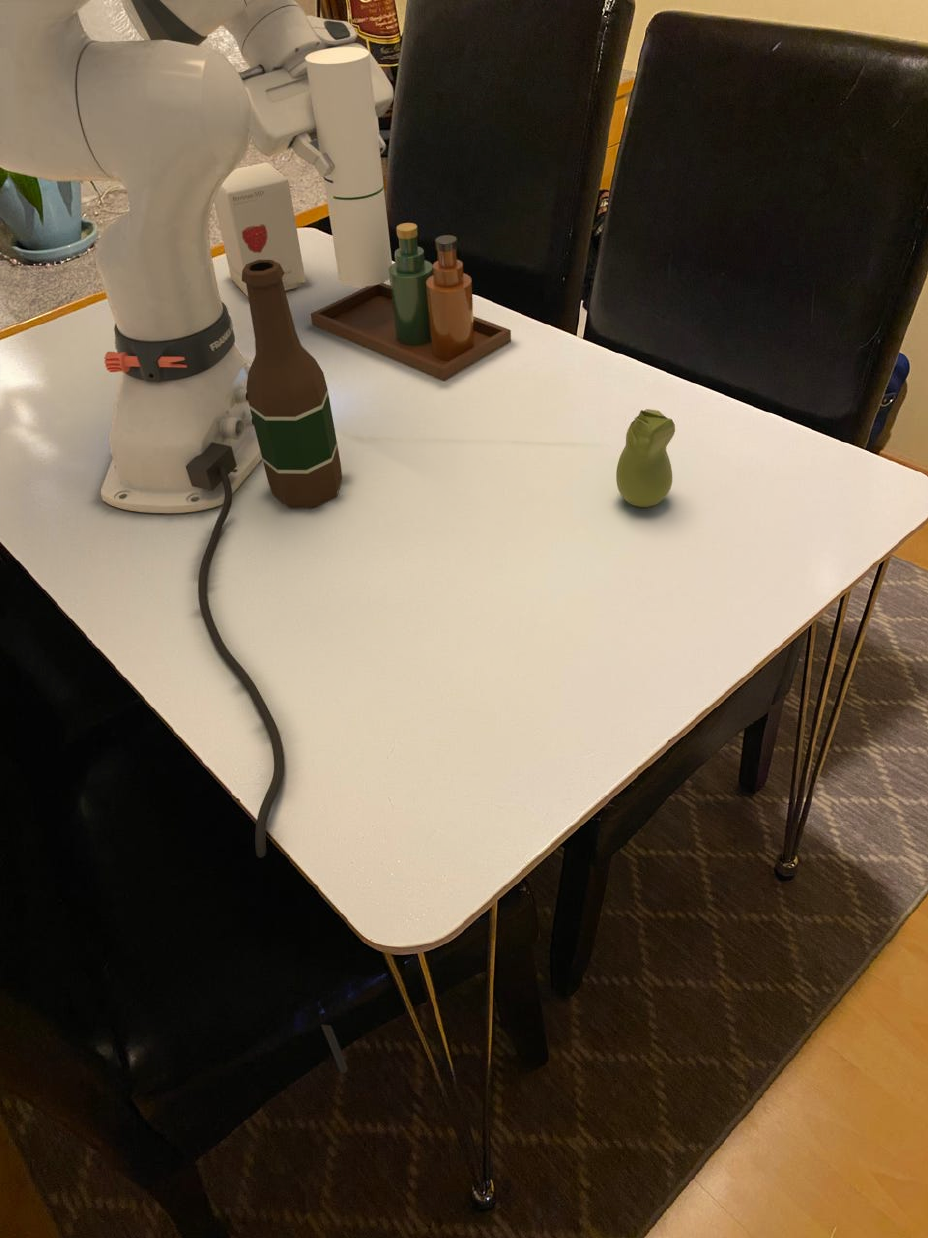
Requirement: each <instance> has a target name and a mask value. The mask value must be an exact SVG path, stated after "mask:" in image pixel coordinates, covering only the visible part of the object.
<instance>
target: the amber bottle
mask: <svg viewBox="0 0 928 1238" xmlns="http://www.w3.org/2000/svg"><path fill="white" fill-rule="evenodd" d="M457 248H458V239H457V237H456V236H455V235H449V234H446V235H445V234H443V235H440V236H438V237H436V238H435V249H436V250H437V252H436V253H437V261H434V262H433V264H432V266H433V276H431V277H429V278H428V279H427V281H426V288H427V300H428V312H429V324H430V336H431V348H432V354H433V355H434V356H435V357H436V358H438V359H441V360H447V361H451V360H453V359H454V358H456V357H458V356H460V355H461V354H463V353H465V352H466V351H468V350H470V349H472V348H473V347H475V341H474V320H473V316H474V301H473V281H472V277H471V276H470V275H468V274H467V273H464V262H463V261H462V260H459V259H458V257H457Z"/></svg>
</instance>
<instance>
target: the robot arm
mask: <svg viewBox="0 0 928 1238" xmlns="http://www.w3.org/2000/svg"><path fill="white" fill-rule="evenodd" d="M120 1H121V4H122V6H123V10H124V12H125V13H126V16H127V18H128V19H129V21H130V22H131V24H132V26H133V28H134V29H135V30H136V32H137V34H139V36H140V37H141V38H142V39H143V40H115V41H114V40H113V41H112V40H110V41H100V40H95V39H94V40H93V39H92V38H91V37H90V35H88V34H87V31H85V29H84V26H83V24H82V21H81V18H80V14H79V11H80V10H81V9H82V8H84V7H85V6H86V5H87V4H88V3H89V2H91V0H0V168H1V169H2V170H5V171H7V172H11V173H16V174H19V175H24V176H27V177H32V178H37V179H42V180H47V181H52V182H118V183H121V184H123V186H124V189H125V192H126V195H127V199H128V205H129V207H128V208H129V211H127V213H125V214H124V215H122V216H121V217H119V218H118V219H117V220H115V221H114V222H113V223H111V224H110V225H109V226H108V227H107V228H106V229H105V230H104V231H103V233H102V234H101V235H100V237H99V239H98V241H97V245H96V250H95V258H94V259H95V267H96V270H97V273H98V275H99V279H100V282H101V285H102V287H103V290H104V292H105V293H104V294H105V296H106V298H107V302H108V304H109V308H110V310H111V311H110V312H111V313H112V316H113V319H114V323H115V324H114V326H113V329H114V345H115V350H116V351H107V352H106V353H105V355H104V365H105V368H106V370H107V371H108V372H109V373H117V372H121V375H120V381H119V385H118V389H117V395H116V400H115V406H114V411H113V416H112V421H111V427H110V433H109V438H108V439H109V448H110V452H111V456H112V459H111V462H110V464H109V467H108V470H107V473H106V475H105V477H104V481H103V483H102V485H101V489H100V496H101V499H102V501H103V502H105V503H106V504H108V505H109V506H112V507H115V508H117V509H121V510H125V511H131V512H137V513H151V514H183V513H193V512H200V511H205V510H209V509H212V508H213V509H214V508H216V507H219V506H221V505H222V507H221V510H220V512H219V514H218V517H217V519H216V521H215V524H214V527H213V529H212V533H211V535H210V538H209V541H208V543H207V546H206V548H205V550H204V554H203V556H202V559H201V563H200V567H199V572H198V581H197V582H198V583H197V591H198V592H197V593H198V594H197V595H198V603H199V609H200V612H201V616H202V619H203V621H204V625H205V627H206V629H207V632H208V634H209V636H210V639H211V641H212V643H213V645H214V646H215V648H216V650H217V652H218V653H219V655H220V656H221V657H222V658H223V661H225V662H226V664H227V666H229V667H230V669H231V670H232V671H233V672H234V673H235V674H236V676H237V677H238V678H239V680H240V681H241V683H242V684H243V686H244V688H246V690H247V692H248V694H249V696H250V698H251V700H252V701H253V703H254V706H255V708H256V709H257V711H258V713H259V715H260V717H261V719H262V721H263V723H264V725H265V727H266V730H267V732H268V736H269V739H270V743H271V747H272V754H273V774H272V777H271V781H270V783H269V786H268V789H267V791H266V793H265V795H264V798H263V799H262V802H261V805H260V807H259V810H258V814H257V818H256V823H255V832H254V833H255V834H254V841H255V842H254V844H255V845H254V847H255V856H256V857H258V858H259V859H260V858H263V857H265V856H266V855H267V851H268V849H267V839H266V838H267V826H266V825H267V824H268V819H269V815H270V812H271V810H272V807H273V805H274V803H275V800H276V798H277V795H278V793H279V792H280V788H281V786H282V782H283V779H284V774H285V773H284V772H285V757H284V754H285V753H284V747H283V742H282V739H281V735H280V732H279V729H278V726H277V724H276V722H275V719H274V717H273V716H272V713H271V712H270V710H269V708H268V705H267V704H266V702H265V701H264V700H265V699H264V698H263V696H262V695H261V693H260V691H259V688H258V687H257V686H256V684H255V683H254V681H253V679H252V678H251V676H250V675H249V673H247V671H246V670H245V668H243V666H242V665H241V664H240V663H239V661H238V660H237V658H235V657H234V655H233V654H232V653H231V652H230V651H229V649H228V648H227V646H226V644H225V643H224V641H223V638H222V637H221V635H220V633H219V631H218V628H217V626H216V624H215V621H214V618H213V616H212V612H211V609H210V606H209V599H208V591H207V590H208V586H207V585H208V584H207V582H208V580H207V579H208V571H209V568H210V567H209V566H210V563H211V560H212V557H213V554H214V552H215V550H216V547H217V544H218V542H219V538H220V535H221V533H222V530H223V528H224V524H225V522H226V521H227V518H228V516H229V513H230V511H231V508H232V503H233V494H234V493H235V492H236V491H237V489H238V488H239V487H240V486H241V485H242V483H243V482H244V481H245V480H247V479H246V478H248V476H249V475H250V474H251V473H252V471H253V470H255V468H256V467H257V466H258V465H259V463H260V462H261V460H263V459H262V455H261V451H260V447H259V443H258V439H257V435H256V431H255V427H254V423H253V419H252V415H251V411H250V407H249V402H248V396H247V389H246V386H247V379H248V372H249V370H250V367H251V365H252V363H251V362H250V361H249V360H247V358H246V357H245V356H244V355H243V354H242V352H241V351H240V350H239V349H238V347H237V346H236V345H235V342H236V336H235V331H234V324H233V320H232V317H231V315H230V313H229V310H228V307H227V305H226V303H224V302H223V301H222V297H221V293H220V290H219V285H218V281H217V277H216V271H215V266H214V260H213V255H212V248H211V241H210V219H211V213H212V209H213V205H214V199H215V197H216V194H217V192H218V190H219V188H220V187H221V185H222V184H223V182H224V181H225V179H226V178H227V177H228V176H229V175H230V173H231V172H232V171H233V170H235V169H236V168H238V166H239V165H240V163H241V162H242V161H243V159H244V157H245V155H246V154H247V151H248V149H249V146H250V142H251V143H252V145H253V147H254V148H255V149H256V150H257V151H258V153H260V154H262V155H264V156H265V157H267V158H268V157H269V158H270V157H272V156H276V155H278V154H281V153H284V152H287V151H290V150H292V149H293V151H294V152H295V155H296V156H297V157H299V158H300V159H302V160H303V161H305V162H307V163H308V164H310V165H311V166H313V167H314V168H315V170H316V172H317V173H318V175H319V176H321V177H322V178H323V177H324V176H327V175H329V174H331V172H332V171H333V170H334V168H335V165H334V163H333V162H332V160H331V159H330V158H329V156H328V155H327V153H325V154H322V153H321V152H320V151H319V149H318V148H316V147H315V146H314V145H312V142H314V141H318V138H317V131H316V122H315V118H314V112H313V105H312V99H311V92H310V86H309V79H308V73H307V67H306V60H305V58H306V56H307V55H308V54H310V53H313V52H316V51H319V50H324V49H329V48H338V47H356V48H362V49H366V50H367V51H369V49H367V48H366V47H365V46H364V45H362V44H360V43H357V42H356V40H357V38H358V33H357V30H356V29H355V28H354V26H353V25H352V23H350V22H348V21H345V20H337V19H336V20H335V19H329V18H328V19H327V18H322V17H318V16H314V15H311V14H310V15H307V14H306V12H305V11H304V9H303V8H302V6H300V4H299V3H298V2H296V0H120ZM221 26H222V27H223V28H224V29H225V30H226V31H227V32H228V33H230V35H231V36H232V37H233V39H234V40H235V41H236V44H237V47H238V49H239V52H240V55H241V57H242V58H243V60H244V61H245V63H246V64H247V66H248V68H247V69H245V70H243V71H240V72H239V71H238V70H237V69H236V67H235V66H234V65H233V63H232V62H231V61H230V60H229V58H227V57H226V56H225V55H224V54H223V52H221V51H219V50H216V49H213V48H208V47H205V46H200V45H201V44H202V43H203V42H204V41H206V40H207V39H208V36H209V35H211V34H212V33H213V32H214V31H216V30H218V29H219V28H220V27H221ZM369 56H370V65H371V74H372V84H373V93H374V102H375V111H376V121H377V130H378V139H379V148H380V155H382V154H383V153H384V152H385V150H387V149H386V148H387V145H386V142H385V141H384V139H383V137H382V136H381V134H380V127H379V118H380V117H383V116H384V115H385V114H386V112H387V111H388V109H390V106H391V105H392V103H393V102H394V98H395V97H394V96H395V95H394V87H393V85H392V83H391V81H390V80H389V78H388V76H387V74H386V73H385V72H384V70H383V69H382V67H381V65H380V64H379V63H378V61H377V60H376V59H375V56H374V55H372V53H371V52H370V51H369ZM320 1026H321V1028H322V1031H323V1033H324V1036H325V1038H326V1040H327V1042H328V1045H329V1047H330V1049H331V1052H332V1054H333V1057H334V1059H335V1062H336V1064H337V1067H338V1069H339V1072H340V1073H341V1074H346V1073H347V1072H348V1070H349V1068H348V1065H347V1062H346V1060H345V1057H344V1055H343V1052H342V1050H341V1047H340V1045H339V1042H338V1040H337V1037H336V1034H335V1033H334V1030H333V1028H332V1025H329V1024H320Z"/></svg>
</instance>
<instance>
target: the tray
mask: <svg viewBox="0 0 928 1238" xmlns="http://www.w3.org/2000/svg"><path fill="white" fill-rule="evenodd" d="M310 320H311V324H312V326H314V327H316V328H319V329H321V330H324V331H325V332H328V333H331V334H333V335H335V336H337V337H340V338H342V339H345V340H347V341H349V342H351V343H354V344H356V345H358V346H361V347H364V348H366V349H368V350H370V351H372V352H375V353H377V354H379V355H382V356H384V357H387V358H388V359H391V360H393V361H396V362H397V363H400V364H403V365H405V366H408V367H409V368H412V369H415V370H417V371H419V372H422V373H424V374H426V375H428V376H431V377H433V378H435V379H437V380H441V381H442V382H445V381H446V380H449V379H451V378H452V377H453V376H455V375H457V374H459V373H460V372H462V371H464V370H465V369H467V368H469V367H470V366H472V365H473V364H475V363H477V362H478V361H481V360H482V359H484V358H485V357H487V356H488V355H490V354H492V353H494V352H495V351H497V350H499V349H501V348H502V347H504V346H506V345H508V344H509V343H510V342H512V332H511V331H512V329H509V328H507V327H504V326H501V325H499V324H495V323H493V322H490V321H487V320H485V319H482V318H479V317H478V316H474V315H473V320H474V341H475V347H473V348H472V349H470V350H468V351H466V352H465V353H463V354H461V355H460V356H458V357H456V358H454V359H453V360H451V361H447V360H441V359H438V358H436V357H435V356H434V355H433V354H432V348H431V342H430V343H427V344H423V345H414V346H413V345H405V344H402V343H400V342H399V341H398V340H397V338H396V332H395V323H394V314H393V305H392V296H391V287H390V284H387V283H386V282H383V283H381V284H378V285H374V286H368V287H362V288H361V289H359V290H357V291H355V292H353V293H350V294H348V295H346V296H344V297H342V298H340V299H338V300H337V301H334V302H331V303H330V304H328V305H326V306H324V307H322V308H319V309H318V310H316V311H313V312H312V313H310Z"/></svg>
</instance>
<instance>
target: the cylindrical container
mask: <svg viewBox="0 0 928 1238" xmlns="http://www.w3.org/2000/svg"><path fill="white" fill-rule="evenodd" d="M366 49H367V48H366ZM366 49H362V48H356V47H338V48H329V49H324V50H319V51H316V52H313V53H310V54H308V55H307V56H306V58H305V60H306V67H307V73H308V79H309V86H310V92H311V99H312V105H313V112H314V118H315V122H316V131H317V138H318V139H317V144H318V151H320V152H321V153H322V154H325V153H327V155H328V156H329V158H330V159H331V160H332V162H333V163H334V165H335V168H334V170H333V171H332V172H331V174H329V175H327V176H324V177H322V178H323V183H324V190H325V197H326V202H327V203H326V204H327V209H328V215H329V216H328V217H329V223H330V228H331V235H332V241H333V249H334V255H335V261H336V263H335V264H336V268H337V275H338V280H339V281H340V283H342V284H344V285H346V286H349V287H356V288H365V287H368V286H374V285H378V284H381V283H386V282H387V281H390V278H389V267H390V266H391V265H392V264H393V259H392V251H391V241H390V231H389V223H388V214H387V205H386V196H385V195H386V194H385V187H384V178H383V177H384V176H383V167H382V159H381V154H380V148H379V139H378V130H377V121H376V111H375V102H374V93H373V84H372V74H371V65H370V56H369V52H370V51H369V50H368V49H367V50H368V51H367V50H366Z"/></svg>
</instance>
